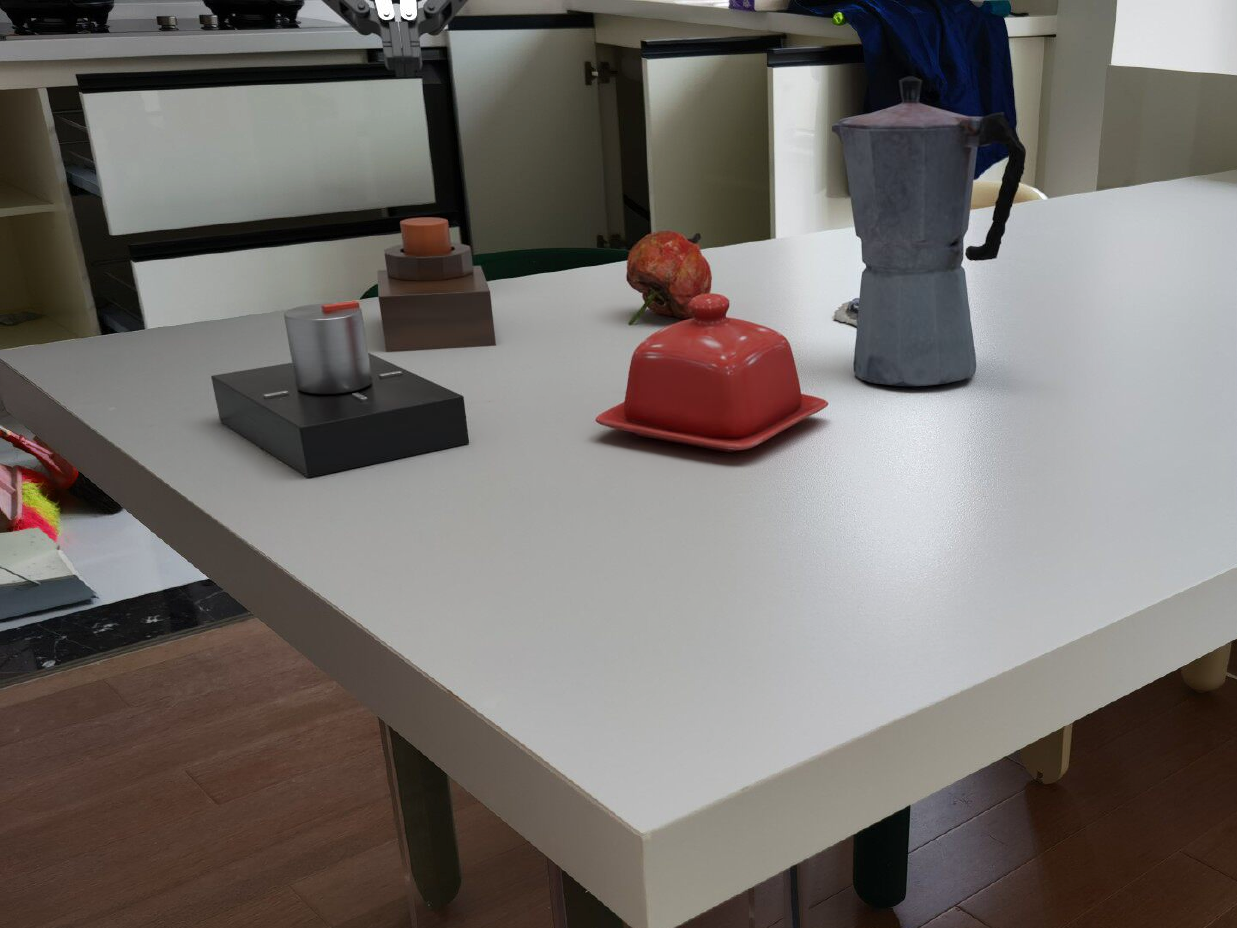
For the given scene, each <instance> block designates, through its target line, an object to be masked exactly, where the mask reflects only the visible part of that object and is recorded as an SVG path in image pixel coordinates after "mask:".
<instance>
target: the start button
mask: <svg viewBox="0 0 1237 928" xmlns="http://www.w3.org/2000/svg"><path fill="white" fill-rule="evenodd" d="M399 226H400V233H401V241H402V245H403V249H404V253H406V254H418V255H424V254H440V253H447V252H451V251H452V250H451V243H452V242H451V241H452V240H451V234H450V233H451V232H450V225H449V221H448V219H447V218H443V217H432V216H430V217H411V218H406V219H403V220H400V222H399Z"/></svg>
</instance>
